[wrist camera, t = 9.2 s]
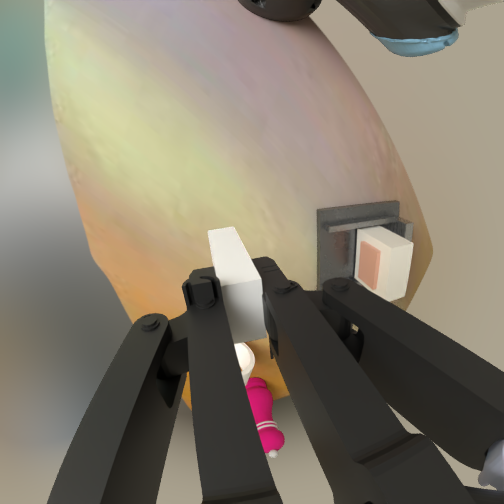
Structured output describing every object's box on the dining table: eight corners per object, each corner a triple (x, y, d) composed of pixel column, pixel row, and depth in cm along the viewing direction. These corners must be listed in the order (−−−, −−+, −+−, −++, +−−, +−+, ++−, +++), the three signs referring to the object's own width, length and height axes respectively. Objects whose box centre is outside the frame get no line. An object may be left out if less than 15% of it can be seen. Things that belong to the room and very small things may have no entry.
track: (316, 209, 45) (332, 217, 40) (395, 200, 48) (414, 207, 42) (316, 299, 52) (329, 315, 47) (388, 280, 55) (403, 292, 49)
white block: (353, 229, 46) (387, 249, 37) (378, 225, 47) (413, 243, 38) (350, 278, 50) (379, 304, 41) (374, 272, 51) (404, 296, 42)
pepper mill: (273, 379, 58) (300, 449, 40) (256, 397, 60) (278, 464, 42) (247, 372, 56) (270, 448, 37) (231, 391, 57) (248, 463, 39)
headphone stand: (217, 332, 50) (226, 377, 39) (247, 335, 52) (262, 379, 41) (212, 349, 51) (220, 395, 40) (241, 352, 53) (254, 396, 42)
